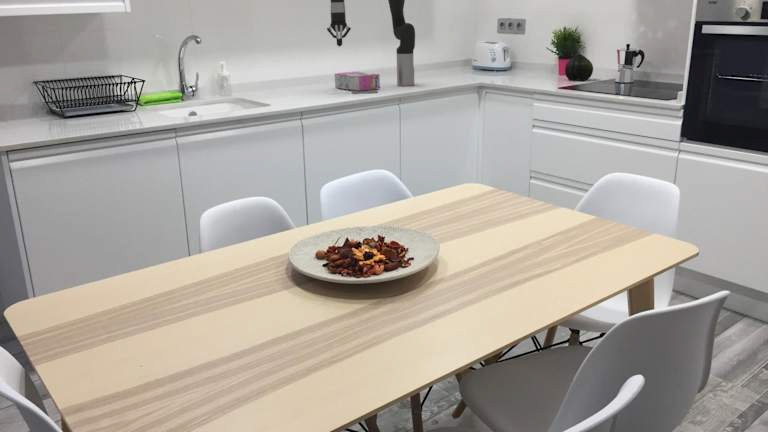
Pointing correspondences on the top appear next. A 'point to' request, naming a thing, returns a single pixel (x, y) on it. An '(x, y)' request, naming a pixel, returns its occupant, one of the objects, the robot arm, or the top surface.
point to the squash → (578, 68)
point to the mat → (364, 91)
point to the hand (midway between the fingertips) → (339, 46)
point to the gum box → (357, 81)
